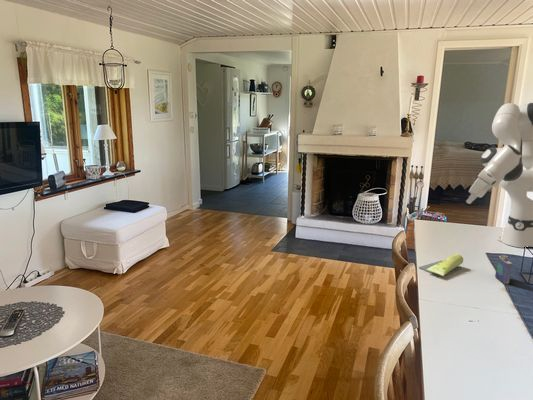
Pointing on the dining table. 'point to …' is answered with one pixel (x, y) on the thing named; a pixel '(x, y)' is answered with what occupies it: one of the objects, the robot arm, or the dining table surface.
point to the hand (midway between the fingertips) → (467, 202)
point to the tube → (447, 264)
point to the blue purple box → (503, 269)
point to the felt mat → (435, 264)
